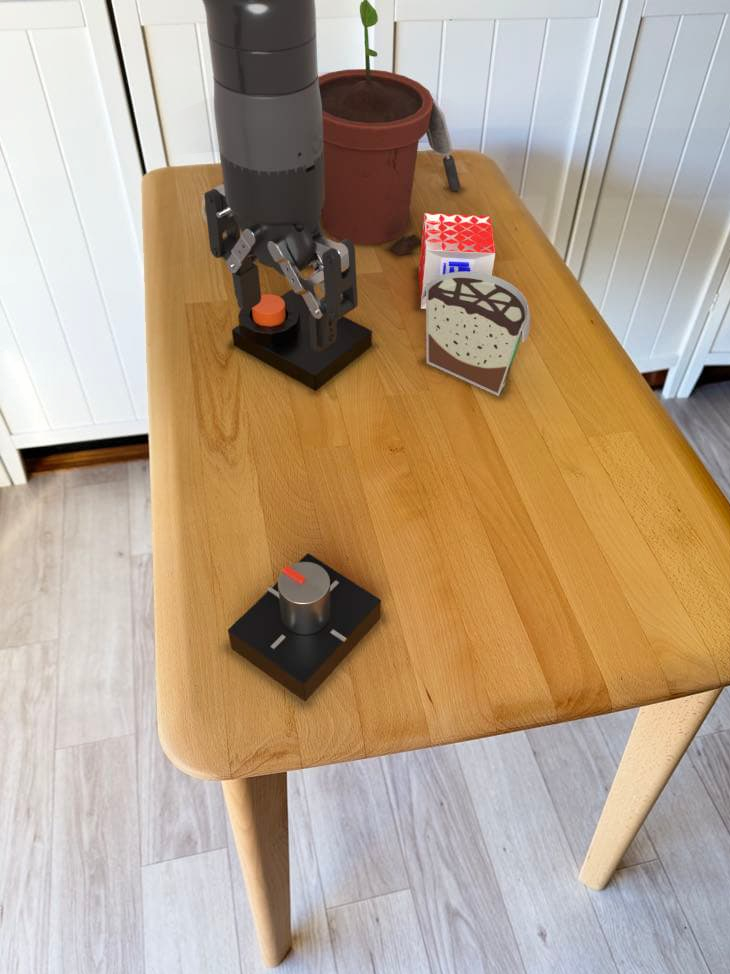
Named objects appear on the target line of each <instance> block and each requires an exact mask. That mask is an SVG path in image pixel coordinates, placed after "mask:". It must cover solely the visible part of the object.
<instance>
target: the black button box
mask: <svg viewBox="0 0 730 974" xmlns="http://www.w3.org/2000/svg"><path fill="white" fill-rule="evenodd" d="M280 297H281V298H282V299H283V300H284V302H285V313H286V319H285V321H284V322H283V323H281V324H280V325H275V326H271V327H270V326H261V325H258V324H256V323H255V322H254V320H253V316H252V308H251V309H250V310H248V311H245V310H243V309H241V308H240V310H239V313H238V315H237V317H238V325H236V326H235V327H234V328H232V329H231V333H232V335H231V336H232V342H233V346H234V347H235V348H238V349H239V350H241V351H243V352H245V353H247V354H248V355H250V356H252V357H253V358H255V359H257V360H259V361H261V362H262V363H265V364H266V365H268V366H270V367H272V368H273V369H275V370H277V371H279V372H281V373H282V374H284V375H286V376H288V377H290V378H291V379H293V380H295V381H297V382H299V383H300V384H301V385H304V386H306V387H307V388H309V389H311V390H313V391H315V392H316V391H318V390H319V389H320V388H322V387H323V386H324V385H325V384H327V383H328V382H329V381H330V380H331V379H333V378H334V377H335V376H336V375H338V374H339V373H340V372H341V371H343V370H344V369H346V367H348V366H349V365H351V364H352V363H353V362H354V361H355V360H356V359H358V358H359V357H360V356H361V355H363V354H365V352H366V351H368V350H369V349H370V348H371V347H372V343H373V331H372V329H369V328H367V327H365V326H363V325H361V324H360V323H357V322H355V321H354V320H352V319H350V318H347V317H345V315H344V316H343V317H341V319H339V320H338V321H337V327H336V328H337V338H336V340H335V342H333V343H332V344H330V345H329V346H328V347H326V348H325V349H324V350H322V351H321V352H317V351H315V350H313V349H312V348H311V340H310V321H309V315H310V314H311V312H310V310H309V308H308V306H307V304H306V302H305V300H304V299H303V297H302V295H300V294H296V293H295V292H294V291H293V289H290V290H288V291H287V292H285V293H284V294H282V295H281V296H280Z"/></svg>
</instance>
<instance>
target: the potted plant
mask: <svg viewBox="0 0 730 974" xmlns="http://www.w3.org/2000/svg"><path fill="white" fill-rule="evenodd" d="M359 14H360V20H361V24H362V25H363V29H364V31H363V33H364V37H363V38H364V58H365V60H364V61H365V68H358V69H356V68H355V69H354V68H353V69H349V68H348V69H341V70H335V71H331V72H326V73H324V74H322V75H318V82H319V89H320V95H321V101H322V111H323V140H324V173H325V201H324V204H323V207H322V210H321V214H320V216H321V222H322V225H323V228H325V230H326V231H327V232H328V233H329V234H330V235H332V236H334V237H335V238H337V239H339V240H342V241H343V240H345V239H348V240H350V241H351V242H352V243H353V244H360V245H376V244H377V245H378V244H382V243H383V244H384V243H387V242H390V241H393V240H395V239H397V238H399V237H400V236H402V235H403V233H404V232H405V231H406V230H407V229H408V228H407V227H408V222H409V215H410V207H411V201H412V193H413V186H414V179H415V171H416V165H417V164H416V163H417V157H418V150H419V142H420V140H421V139H422V138H423V137H424V136H425V135H426V137H427V142H428V144H429V146H430V148H431V150H432V151H433V153H434V155H435V156H441V157H443V156H444V157H443V159H442V163H443V166H444V171H445V175H446V178H447V182H448V186H449V189H450V191H451V192H458V191H459V190H460V188H461V182H460V179H459V175H458V170H457V166H456V163H455V159H454V158H455V157H454V156H453V155H450V154H451V153H452V152H453V146H452V145H453V144H452V142H451V141H452V140H451V138H450V133H449V128H448V124H447V121H446V117H445V114H444V113H443V111H442V109H441V108H440V106H439V104H438V102H437V101H436V100H435V99H434V97H433V96H432V94H431V92H430V89H428V88H426V87H425V86H424V85H422V84H421V83H420V82H419V81H417V80H415V79H413V78H410V77H407V76H405V75H402V74H398V73H394V72H391V71H388V70H387V71H386V70H379V69H371V64H370V62H371V61H370V60H371V59H370V57H374V58H375V57H378V52H377V51H376V50H373V49H371V48H370V43H369V28H370V27H373V26H375V25H377V23H378V21H379V16H378V13H377V9H375V7H374V6H372V4H371V3H370V2H369V0H363V1H361V2H360V5H359ZM420 245H422V241H420V240H419V238H418V237H417V236H416V234H415V233H413V234H412V235H410V236H407V237H406V236H403V237H400V239H398V240H396V241H395V242H394V243H393V244H392V245H391V246H390V248H389V249H388V250H389V251H390V252H392V253H394V254H395V255H397V256H405V255H413V252H414V249H415V248H416V247H418V246H420Z"/></svg>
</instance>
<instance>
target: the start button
mask: <svg viewBox="0 0 730 974" xmlns="http://www.w3.org/2000/svg"><path fill="white" fill-rule="evenodd" d="M252 316H253V320H254V322H255V323H256V324H258V325H261V326H270V327H271V326H275V325H280V324H281V323H283V322H284V321H285V319H286V313H285V302H284V300H283V299H282V298H281V296H279V295H276V294H274V293H273V294H272V293H265V294H261V301H260V303H259V304H257V305H256V306H254V307H253V308H252Z"/></svg>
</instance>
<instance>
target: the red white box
mask: <svg viewBox="0 0 730 974" xmlns="http://www.w3.org/2000/svg"><path fill="white" fill-rule="evenodd" d="M493 234H494V233H493V227H492V220H491V216H490V215H473V214H454V213H453V214H451V213H435V212H434V213H433V212H424V213H423V220H422V233H421V243H422V244H420V245H421V246H420V259H419V269H418V270H419V271H418V274H419V275H418V276H419V294H420V295H419V297H420V309H421V310H426V296H425V297H424V298H423V299H421V296H422V293H423V290H424V287H426V285H427V283H428V282H429V281H431V280H432V279H434V278H436V277H438V276H441V275H444V274H448V273H453V272H466V271H468V272H479V273H485V274H489V275H492V276H493V270H494V263H495V258H496V249H495V242H494V235H493Z"/></svg>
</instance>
